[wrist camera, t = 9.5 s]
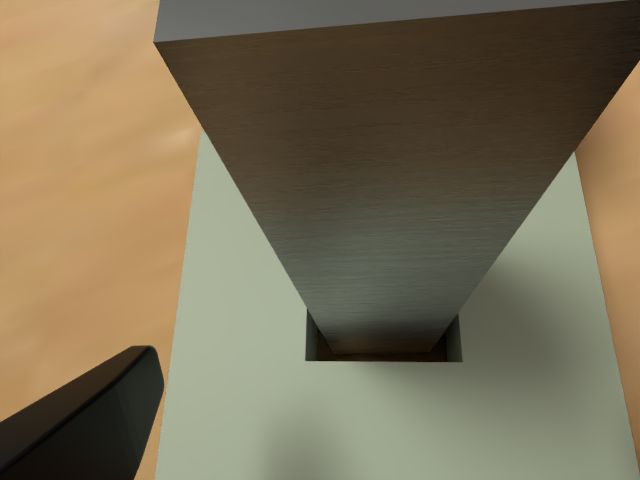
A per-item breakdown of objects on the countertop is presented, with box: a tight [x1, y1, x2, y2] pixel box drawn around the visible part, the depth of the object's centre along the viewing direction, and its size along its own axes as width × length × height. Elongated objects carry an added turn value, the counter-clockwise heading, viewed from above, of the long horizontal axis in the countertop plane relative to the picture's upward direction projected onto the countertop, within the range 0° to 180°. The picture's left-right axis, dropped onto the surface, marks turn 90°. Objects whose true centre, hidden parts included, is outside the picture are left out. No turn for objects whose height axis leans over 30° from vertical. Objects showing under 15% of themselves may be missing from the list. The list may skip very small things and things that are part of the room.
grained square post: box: [153, 0, 640, 354], centre depth 11 cm, size 3×3×15 cm
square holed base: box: [155, 132, 640, 480], centre depth 14 cm, size 17×13×9 cm
